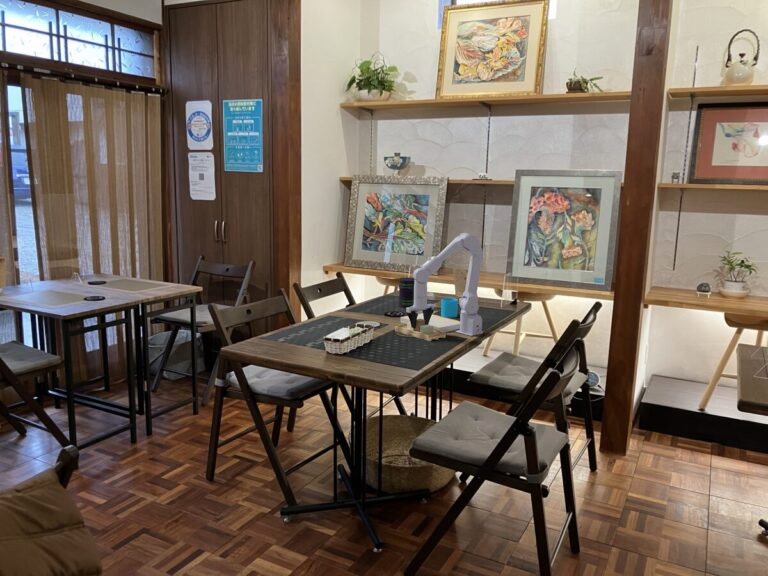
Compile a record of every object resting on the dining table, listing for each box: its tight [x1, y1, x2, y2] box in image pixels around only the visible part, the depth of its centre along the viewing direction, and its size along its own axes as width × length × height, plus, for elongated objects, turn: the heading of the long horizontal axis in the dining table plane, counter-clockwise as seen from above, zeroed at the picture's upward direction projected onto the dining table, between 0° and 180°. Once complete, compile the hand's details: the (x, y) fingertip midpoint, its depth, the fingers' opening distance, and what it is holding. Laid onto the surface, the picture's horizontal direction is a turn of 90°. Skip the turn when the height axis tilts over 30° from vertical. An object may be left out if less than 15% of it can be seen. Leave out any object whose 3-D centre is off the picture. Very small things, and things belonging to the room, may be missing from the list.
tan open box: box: [394, 319, 447, 342], centre depth 272 cm, size 22×10×7 cm, turn 40°
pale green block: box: [420, 325, 433, 334], centre depth 269 cm, size 4×4×3 cm
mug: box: [440, 297, 459, 318], centre depth 311 cm, size 12×8×8 cm
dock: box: [400, 312, 460, 333], centre depth 289 cm, size 26×16×3 cm, turn 40°
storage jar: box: [398, 277, 415, 309], centre depth 329 cm, size 10×10×15 cm
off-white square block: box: [407, 322, 415, 330], centre depth 275 cm, size 4×4×3 cm
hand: (419, 326), depth 272 cm, fingers open, 7 cm apart
